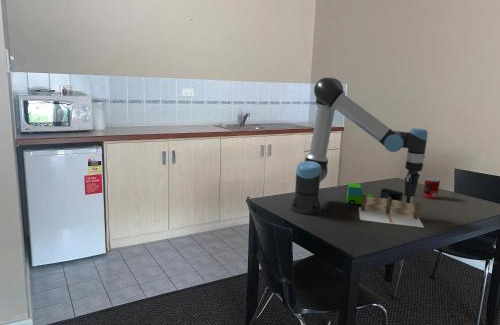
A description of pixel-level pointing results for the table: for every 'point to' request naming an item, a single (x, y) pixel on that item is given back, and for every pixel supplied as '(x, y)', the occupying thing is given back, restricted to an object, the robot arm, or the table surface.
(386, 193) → the digital camera
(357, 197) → the toy car
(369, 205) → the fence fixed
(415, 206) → the fence gate
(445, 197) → the table surface
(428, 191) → the canned food
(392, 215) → the card
